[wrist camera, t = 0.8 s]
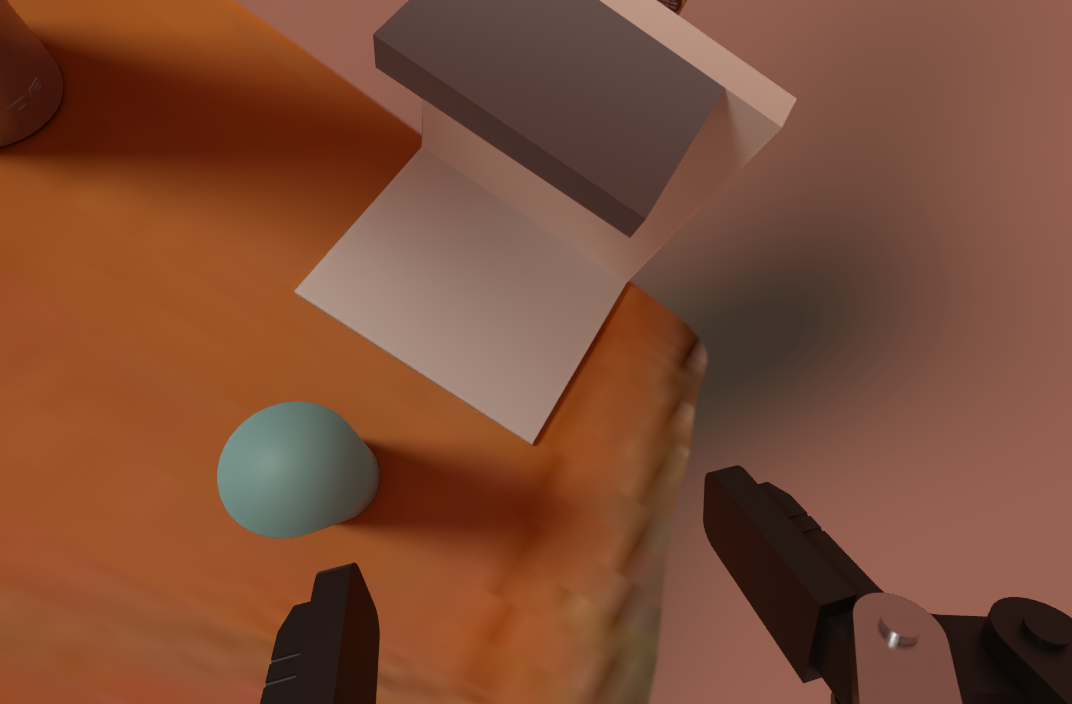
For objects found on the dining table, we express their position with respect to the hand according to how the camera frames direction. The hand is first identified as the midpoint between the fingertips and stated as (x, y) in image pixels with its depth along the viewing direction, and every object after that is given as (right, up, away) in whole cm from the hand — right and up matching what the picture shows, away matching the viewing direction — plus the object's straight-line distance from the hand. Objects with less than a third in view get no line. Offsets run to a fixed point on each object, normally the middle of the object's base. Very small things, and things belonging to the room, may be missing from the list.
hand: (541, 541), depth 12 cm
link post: (-12, -3, +19) cm, 23 cm away
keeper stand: (-4, +9, +24) cm, 26 cm away
